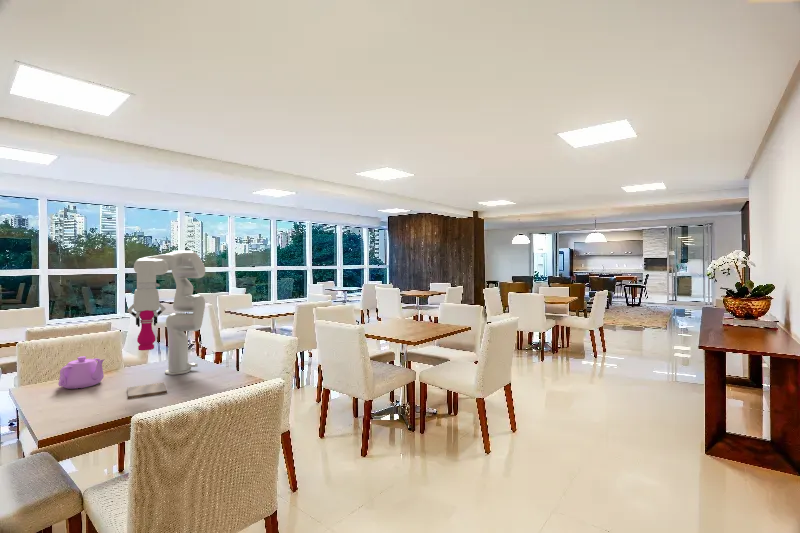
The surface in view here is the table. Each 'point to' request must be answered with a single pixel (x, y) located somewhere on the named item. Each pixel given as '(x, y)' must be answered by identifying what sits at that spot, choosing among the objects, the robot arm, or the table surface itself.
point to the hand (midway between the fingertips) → (146, 325)
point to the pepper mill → (146, 331)
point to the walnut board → (146, 390)
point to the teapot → (81, 373)
